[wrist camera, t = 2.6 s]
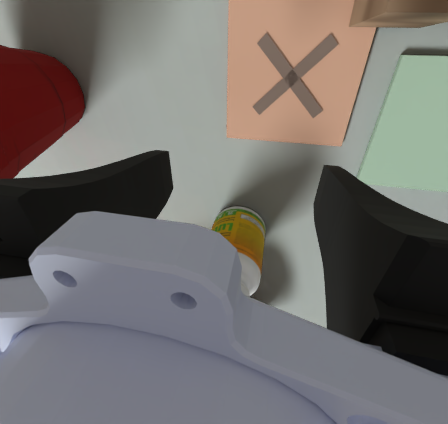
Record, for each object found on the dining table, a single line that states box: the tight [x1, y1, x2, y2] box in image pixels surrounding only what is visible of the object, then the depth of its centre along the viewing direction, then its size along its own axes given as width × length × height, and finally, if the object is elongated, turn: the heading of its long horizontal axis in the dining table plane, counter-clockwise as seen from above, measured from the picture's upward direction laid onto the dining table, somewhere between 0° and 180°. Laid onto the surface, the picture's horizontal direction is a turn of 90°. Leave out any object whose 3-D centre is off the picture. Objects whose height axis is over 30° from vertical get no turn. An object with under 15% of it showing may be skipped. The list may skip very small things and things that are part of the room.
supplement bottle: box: [211, 206, 265, 297], centre depth 22 cm, size 5×5×10 cm
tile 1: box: [227, 0, 376, 146], centre depth 17 cm, size 9×9×1 cm
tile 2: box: [357, 55, 448, 192], centre depth 17 cm, size 9×9×1 cm
